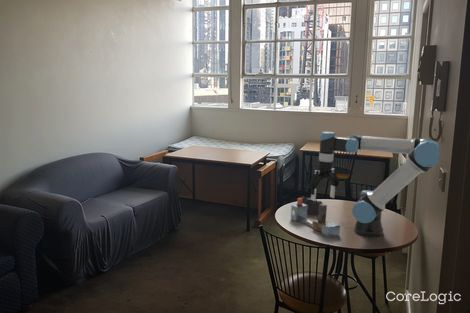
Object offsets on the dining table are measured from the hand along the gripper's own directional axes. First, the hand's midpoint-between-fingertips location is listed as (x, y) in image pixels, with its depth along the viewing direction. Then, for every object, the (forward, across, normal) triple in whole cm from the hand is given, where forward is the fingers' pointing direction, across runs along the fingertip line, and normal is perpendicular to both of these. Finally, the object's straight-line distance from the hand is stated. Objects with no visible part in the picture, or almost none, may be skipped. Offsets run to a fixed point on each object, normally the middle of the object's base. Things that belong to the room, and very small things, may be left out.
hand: (322, 198), depth 222 cm
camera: (+19, -17, -26) cm, 37 cm away
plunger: (+10, 0, -19) cm, 22 cm away
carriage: (+18, 0, 0) cm, 18 cm away
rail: (+18, 0, -6) cm, 19 cm away
